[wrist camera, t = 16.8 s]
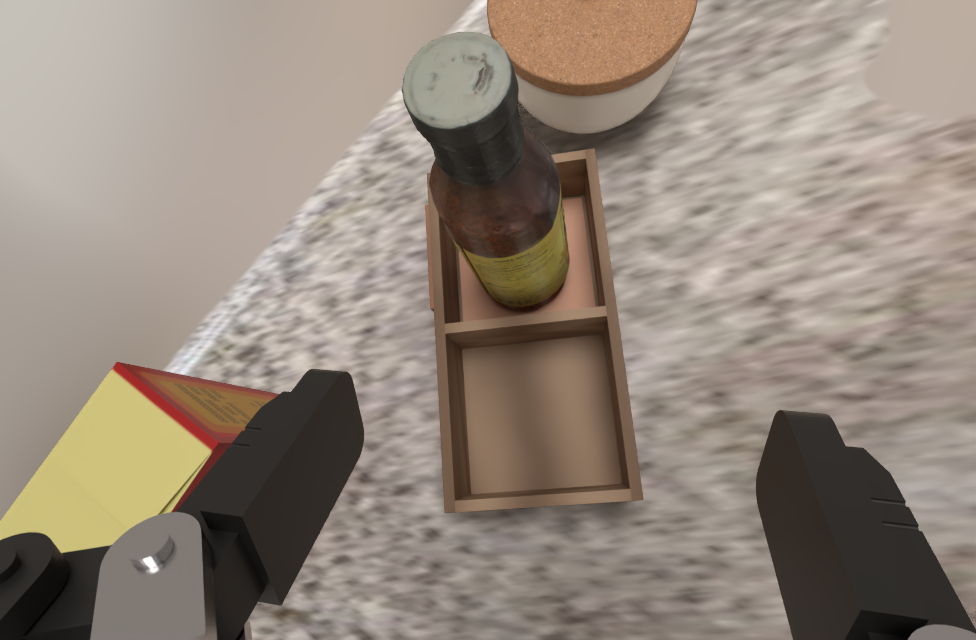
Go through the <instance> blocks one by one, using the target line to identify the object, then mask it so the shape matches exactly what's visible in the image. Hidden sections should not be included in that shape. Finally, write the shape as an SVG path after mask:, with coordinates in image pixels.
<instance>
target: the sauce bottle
mask: <svg viewBox="0 0 976 640" xmlns="http://www.w3.org/2000/svg"><path fill="white" fill-rule="evenodd" d="M402 93H403V98H404V103H405V105H406V108H407V110H408V112H409V114H410V116H411V118H412V121H413V123H414V125H415V126H416V128H417V130H418V131H419V132H420V133H421V134H422V136H423V137H424V138H426V140H427V141H428V142H430V144H431V146H432V148H433V150H434V155H435V157H436V159H435V161H434V163H433V166H432V169H431V174H430V178H429V187H430V190H431V193H432V199H433V202H434V204H435V207H436V209H437V212H438V213H439V215H440V217H441V218H442V219H443V221H444V224H445V227H446V229H447V231H448V233H449V235H450V237H451V238H452V240H453V242H454V243H455V245H456V246H457V248H458V250H459V251H460V253H461V254H462V256H463V258H464V259H465V261H466V262H467V264H468V265H469V267H470V269H471V270H472V272H473V273H474V275H475V276H476V278H477V279H478V281H479V283H480V284H481V286H482V288H483V289H484V290H485V292H486V293H487V294H490V296H491V297H492V299H493V300H494V301H495V302H497V303H498V304H500V305H502V306H504V307H506V308H510V309H516V310H534V309H536V308H539V307H542V306H543V305H545V304H547V303H549V302H550V301H551V300H552V299H554V298H555V297H556V296H557V295H558V294H559V292H560V291H561V289H562V288H563V286H564V283H565V280H566V275H567V272H568V268H569V262H570V257H569V250H568V242H567V234H566V225H565V216H564V208H563V202H562V193H561V185H560V178H559V174H558V169H557V166H556V164H555V161H554V159H553V157H552V156H551V154H550V152H549V151H548V150H547V149H546V148H545V146H544V145H543V144H542V143H541V142H540V141H539V140H538V139H537V138H536V137H535V136H534V135H533V134H532V133H531V132H530V131H529V130H528V129H527V128H526V127H525V126H524V125H523V124H522V121H521V120H520V116H519V112H518V106H517V104H518V93H519V88H518V81H517V77H516V75H515V71H514V66H513V64H512V62H511V59H510V57H509V56H508V54H507V52H506V51H505V50H504V48H503V47H502V46H501V45H500V43H499V42H498V41H496V40H494V39H493V38H491V37H490V36H487V35H485V34H482V33H475V32H457V33H453V34H449V35H445V36H442V37H440V38H437V39H435V40H432V41H431V42H429V43H428V44H427V45H426V46H424V47H423V48H421V49H420V50H419V51H418V53H417V54H416V55H415V56H414V57H413V59H412V60H411V61H410V63H409V65H408V67H407V69H406V72H405V74H404V78H403V86H402Z"/></svg>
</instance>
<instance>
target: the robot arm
mask: <svg viewBox="0 0 976 640" xmlns="http://www.w3.org/2000/svg"><path fill="white" fill-rule="evenodd" d="M363 442H364V428H363V423H362V418H361V414H360V410H359V405H358V401H357V397H356V392H355V388H354V384H353V380H352V377H351V375H350V374H349V373H348V372H343V371H332V370H320V369H311V370H309V371H307V372H306V373H305V375H304V376H303V377H302V379H301V380H300V381H299V382H298V384H297V385H296V386H295V388H294V389H293V390H292V391H291V392H282V393H281V394H279V395H278V396H276V397H275V398H274V399H272V400H271V401H269V402H268V403H266V404H265V405H264V406H262V407H261V408H260V409H259V410H258V411H257V413H256V414H255V415H254V416H253V418H252V419H251V420H250V421H249V423H248V424H247V425H246V426H245V430H244V431H241V432H240V434H239V435H238V436H237V437H236V438H235V440H234V441H233V442H232V446H231V447H228V448H227V450H226V451H225V452H224V453H223V454H222V456H221V457H220V458H219V459H218V461H217V462H216V463H215V464H214V466H213V467H212V468H211V469H210V470H209V472H208V473H207V474H206V475H205V477H204V478H203V479H202V480H201V482H200V483H199V484H198V485H197V486H196V488H195V489H194V490H193V491H192V493H191V494H190V495H189V496H188V497H187V499H186V500H185V501H184V502H183V504H182V505H181V506H180V507H179V508H178V510H177V511H176V512H169V513H164V514H160V515H156V516H153V517H151V518H148V519H146V520H144V521H142V522H140V523H138V524H136V525H135V526H133V527H132V528H130V529H129V530H128V531H126V532H125V533H124V534H123V535H121V536H120V537H119V538H118V539H117V540H116V541H115V542H114V543H113V545H109V546H103V547H96V548H90V549H83V550H77V551H71V552H64V553H61V552H60V551H59V549H58V548H57V547H56V545H55V544H54V543H53V541H52V540H51V539H50V538H49V537H48V536H47V535H45V534H43V533H38V532H27V533H21V534H17V535H13V536H10V537H7V538H4V539H2V540H0V640H252V634H251V627H250V622H249V620H248V618H249V616H250V614H251V613H252V611H253V609H254V607H255V606H256V604H257V602H264V603H269V604H275V605H282V603H283V601H284V599H285V597H286V596H287V594H288V592H289V590H290V588H291V586H292V584H293V582H294V580H295V578H296V577H297V575H298V573H299V571H300V569H301V567H302V565H303V563H304V561H305V560H306V558H307V556H308V554H309V552H310V550H311V548H312V546H313V544H314V542H315V541H316V539H317V537H318V535H319V533H320V531H321V529H322V527H323V525H324V523H325V522H326V520H327V518H328V516H329V514H330V512H331V510H332V508H333V506H334V505H335V503H336V501H337V499H338V497H339V495H340V493H341V491H342V489H343V487H344V486H345V484H346V482H347V480H348V478H349V476H350V474H351V472H352V470H353V468H354V467H355V465H356V463H357V461H358V459H359V457H360V454H361V451H362V447H363ZM756 496H757V504H758V508H759V512H760V516H761V520H762V523H763V527H764V531H765V535H766V538H767V542H768V546H769V550H770V554H771V557H772V561H773V565H774V569H775V572H776V576H777V580H778V584H779V587H780V591H781V595H782V599H783V603H784V606H785V610H786V614H787V618H788V621H789V625H790V629H791V633H792V636H793V640H976V629H975V627H974V626H973V624H972V622H971V620H970V618H969V617H968V615H967V613H966V611H965V609H964V607H963V606H962V604H961V602H960V600H959V598H958V597H957V595H956V593H955V591H954V589H953V587H952V586H951V584H950V582H949V580H948V578H947V576H946V575H945V573H944V571H943V569H942V567H941V565H940V564H939V562H938V560H937V558H936V556H935V554H934V553H933V551H932V549H931V547H930V545H929V543H928V542H927V540H926V538H925V536H924V534H923V532H922V531H919V530H918V526H919V525H918V523H917V521H916V520H915V518H914V516H913V514H912V512H911V510H910V509H909V507H906V506H905V502H906V501H905V499H904V498H903V496H902V494H901V492H900V490H899V488H898V487H897V485H896V483H895V481H894V479H893V477H892V476H891V474H890V473H889V472H888V471H887V470H886V469H885V468H884V467H883V466H882V465H881V464H880V463H879V462H878V461H877V460H875V459H874V458H873V457H872V456H871V455H870V454H869V453H868V452H867V451H866V450H865V449H864V448H857V447H847V446H845V444H844V442H843V440H842V438H841V436H840V434H839V432H838V430H837V428H836V425H835V423H834V421H833V420H832V418H831V417H830V416H829V415H827V414H819V413H808V412H796V411H784V410H779V411H778V412H777V413H776V414H775V416H774V419H773V422H772V425H771V429H770V432H769V435H768V439H767V442H766V445H765V448H764V452H763V455H762V458H761V462H760V465H759V468H758V472H757V479H756Z"/></svg>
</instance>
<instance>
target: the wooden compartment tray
mask: <svg viewBox="0 0 976 640" xmlns="http://www.w3.org/2000/svg"><path fill="white" fill-rule="evenodd" d="M551 156H552V157H553V159H554V161H555V164H556V166H557V169H558V174H559V178H560V185H561V193H562V202H563V208H564V216H565V225H566V234H567V242H568V250H569V257H570V262H569V268H568V272H567V275H566V280H565V283H564V286H563V288H562V289H561V291H560V292H559V294H558V295H557V296H556V297H555V298H554V299H552V300H551V301H550V302H549V303H547V304H545V305H543V306H542V307H539V308H536V309H534V310H516V309H510V308H506V307H504V306H502V305H500V304H498V303H497V302H495V301H494V300H493V299H492V297H491V296H490V294H487V293H486V292H485V290H484V289H483V288H482V286H481V284H480V283H479V281H478V279H477V278H476V276H475V275H474V273H473V272H472V270H471V269H470V267H469V265H468V264H467V262H466V261H465V259H464V258H463V256H462V254H461V253H460V251H459V250H458V248H457V246H456V245H455V243H454V242H453V240H452V238H451V237H450V235H449V233H448V231H447V229H446V227H445V224H444V221H443V219H442V218H441V217H440V215H439V213H438V212H437V209H436V207H435V204H434V202H433V199H432V193H431V190H430V187H429V178H430V174H431V173H427V184H428V203H429V205H425V212H426V232H427V252H428V271H429V291H430V309H431V310H432V311H433V312H434V317H435V336H436V356H437V375H438V394H439V413H440V432H441V451H442V470H443V489H444V508H445V513H453V512H468V511H483V510H499V509H514V508H530V507H545V506H560V505H576V504H591V503H606V502H622V501H637V500H643V494H642V486H641V479H640V472H639V465H638V458H637V450H636V443H635V436H634V429H633V422H632V414H631V407H630V400H629V393H628V386H627V378H626V371H625V364H624V357H623V350H622V342H621V335H620V328H619V321H618V313H617V306H616V299H615V292H614V285H613V277H612V270H611V263H610V256H609V249H608V241H607V234H606V227H605V220H604V213H603V205H602V198H601V191H600V184H599V177H598V169H597V162H596V155H595V148H593V149H586V150H580V151H573V152H566V153H560V154H553V155H551Z"/></svg>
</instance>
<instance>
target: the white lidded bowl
mask: <svg viewBox="0 0 976 640" xmlns="http://www.w3.org/2000/svg"><path fill="white" fill-rule="evenodd" d="M696 6H697V0H487V15H488V23H489V29H490V33H491V36H492V38H493V39H494V40H496V41H498V42H499V43H500V45H501V46H502V47H503V48H504V50H505V51H506V52H507V54H508V56H509V57H510V59H511V62H512V64H513V66H514V71H515V75H516V77H517V81H518V88H519V93H518V101H519V102H520V103H521V105H522V106H523V107H524V108H525V109H526V110H527V111H528V112H529V113H530V114H531V115H533V116H534V117H535V118H536V119H537V120H539V121H541V122H542V123H544V124H546V125H548V126H550V127H553V128H555V129H558V130H561V131H565V132H570V133H579V134H586V133H596V132H602V131H606V130H609V129H612V128H615V127H617V126H620V125H622V124H624V123H626V122H628V121H629V120H631V119H632V118H634V117H635V116H637V115H638V114H639V113H641V112H642V111H643V110H644V109H645V108H646V107H647V106H648V105H649V104H650V103H651V102H652V101H653V100H654V99H655V98H656V97H657V95H658V94H659V93H660V91H661V90H662V89H663V87H664V86H665V84H666V82H667V81H668V79H669V77H670V75H671V73H672V72H673V70H674V68H675V65H676V63H677V61H678V59H679V56H680V53H681V50H682V47H683V44H684V41H685V38H686V36H687V34H688V32H689V29H690V26H691V23H692V20H693V17H694V14H695V11H696Z"/></svg>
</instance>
